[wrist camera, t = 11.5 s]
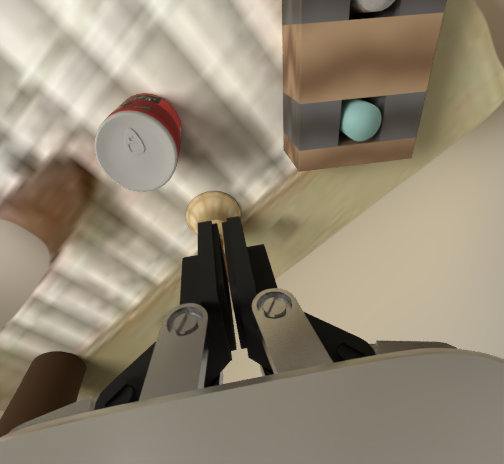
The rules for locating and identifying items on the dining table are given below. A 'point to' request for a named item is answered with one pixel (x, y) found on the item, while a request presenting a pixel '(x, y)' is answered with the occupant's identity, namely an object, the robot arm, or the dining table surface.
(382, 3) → the steel peg
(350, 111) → the teal peg
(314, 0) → the socket block
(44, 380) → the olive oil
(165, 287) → the dining table surface
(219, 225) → the hand bell
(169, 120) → the canned food
